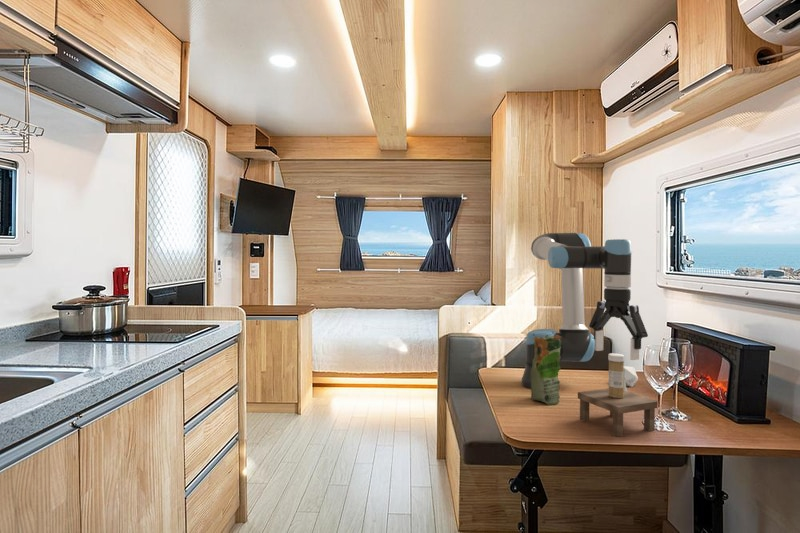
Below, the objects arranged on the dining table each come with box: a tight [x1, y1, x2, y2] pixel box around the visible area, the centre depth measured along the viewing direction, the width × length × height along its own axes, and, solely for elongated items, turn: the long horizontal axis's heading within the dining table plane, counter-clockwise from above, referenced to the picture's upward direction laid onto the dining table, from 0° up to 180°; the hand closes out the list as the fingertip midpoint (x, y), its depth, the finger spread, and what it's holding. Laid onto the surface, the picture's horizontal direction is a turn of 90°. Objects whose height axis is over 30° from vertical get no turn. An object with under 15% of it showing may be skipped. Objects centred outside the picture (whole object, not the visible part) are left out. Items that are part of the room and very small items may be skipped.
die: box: [624, 365, 639, 388], centre depth 183 cm, size 8×9×10 cm
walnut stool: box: [577, 387, 658, 438], centre depth 137 cm, size 16×16×9 cm
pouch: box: [530, 335, 562, 406], centre depth 161 cm, size 11×12×25 cm
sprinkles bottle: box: [607, 352, 625, 398], centre depth 137 cm, size 5×5×14 cm
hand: (616, 354), depth 138 cm, fingers open, 13 cm apart
